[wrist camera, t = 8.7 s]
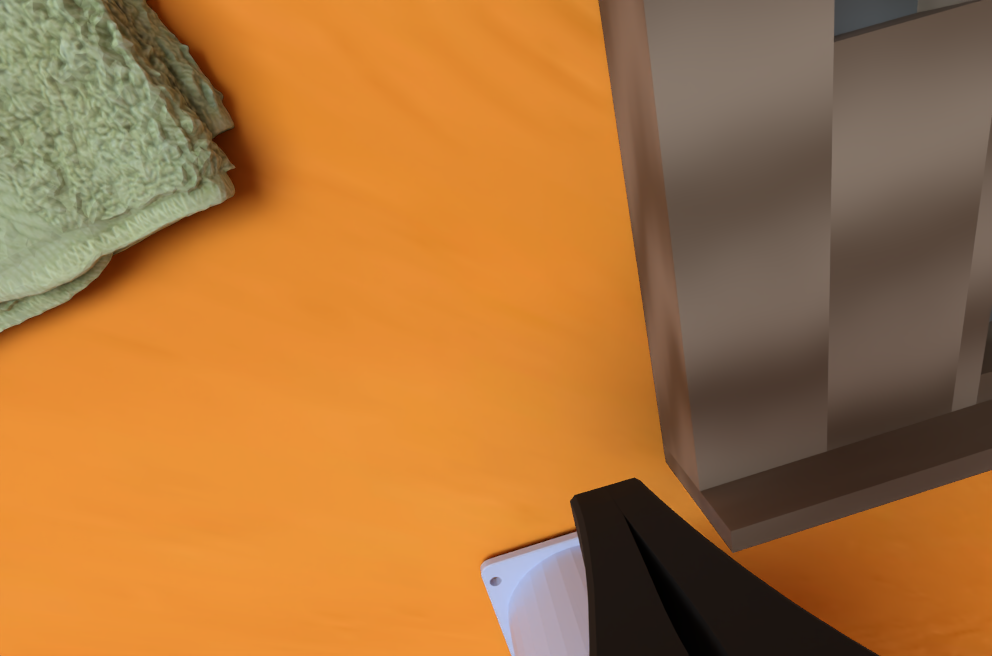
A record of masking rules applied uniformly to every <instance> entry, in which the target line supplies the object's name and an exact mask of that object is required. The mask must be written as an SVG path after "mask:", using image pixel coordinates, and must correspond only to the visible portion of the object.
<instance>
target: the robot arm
mask: <svg viewBox="0 0 992 656" xmlns="http://www.w3.org/2000/svg"><path fill="white" fill-rule="evenodd" d="M570 503H571V508H572V512H573V517H574V521H575V526H576V530H577V531H576V532H573V533H570V534H567V535H564V536H560V537H557V538H554V539H551V540H548V541H545V542H541V543H538V544H535V545H532V546H529V547H526V548H522V549H519V550H516V551H513V552H510V553H506V554H503V555H500V556H497V557H494V558H491V559H488V560H486V561H484V562H483V563H482V565H481V567H480V568H481V576H482V579H483V581H484V584H485V587H486V589H487V592H488V595H489V597H490V600H491V603H492V605H493V608H494V611H495V613H496V616H497V619H498V621H499V624H500V627H501V629H502V632H503V635H504V637H505V640H506V643H507V645H508V648H509V651H510V653H511V656H879V655H877V654H876V653H874V652H872V651H871V650H869V649H867V648H866V647H864V646H862V645H861V644H859V643H857V642H855V641H854V640H852V639H850V638H849V637H847V636H845V635H844V634H842V633H841V632H839V631H837V630H836V629H834V628H833V627H831V626H829V625H828V624H826V623H825V622H823V621H821V620H820V619H818V618H817V617H815V616H814V615H812V614H810V613H809V612H807V611H806V610H804V609H803V608H801V607H800V606H798V605H797V604H795V603H794V602H792V601H791V600H789V599H788V598H786V597H785V596H783V595H782V594H781V593H779V592H778V591H776V590H775V589H773V588H772V587H771V586H769V585H768V584H766V583H765V582H764V581H762V580H761V579H759V578H758V577H756V576H755V575H754V574H752V573H751V572H750V571H748V570H747V569H746V568H744V567H743V566H741V565H740V564H739V563H737V562H736V561H735V560H733V559H732V558H731V557H730V556H728V555H727V554H726V553H724V552H723V551H722V550H721V549H719V548H718V547H717V546H715V545H714V544H713V543H712V542H710V541H709V540H708V539H707V538H705V537H704V536H703V535H701V534H700V533H699V532H698V531H697V530H695V529H694V528H693V527H692V526H690V525H689V524H688V523H687V522H686V521H685V520H683V519H682V518H681V517H680V516H679V515H678V514H676V513H675V512H674V511H673V510H672V509H671V508H669V507H668V506H667V505H666V504H665V503H664V502H663V501H662V500H660V499H659V498H658V497H657V496H656V495H655V494H654V493H653V492H652V491H651V490H650V489H648V488H647V487H646V486H645V485H644V484H643V483H642V482H641V481H640V480H638V479H636V478H632V479H628V480H625V481H621V482H618V483H615V484H611V485H608V486H604V487H601V488H597V489H594V490H591V491H587V492H584V493H580V494H577V495H574V497H573V498H572V499H571V501H570ZM494 577H497V578H494ZM492 578H494V579H492Z"/></svg>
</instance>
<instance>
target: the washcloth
mask: <svg viewBox="0 0 992 656" xmlns="http://www.w3.org/2000/svg"><path fill="white" fill-rule="evenodd" d="M188 50H189V47H188V46H187V45H183V44H181V43H180V42H179V40H178V39H177V38H176V37H175V35H174V34H173V33H171V32H170V31H169V30H168V28H167V27H166V26H165V25H164V24H163V23H162V22H161V21H160V19H159V17H158V15H157V13H155V12H154V11H153V10H152V9H151V8H150V7H149V6H148V5H147V3H146V0H0V332H2V331H3V330H4V329H7V328H9V327H12V326H14V325H19V324H20V323H22V322H24V321H25V320H27V319H29V318H31V317H34V316H37V315H40V314H42V313H44V312H45V311H47V310H49V309H51V308H54V307H56V306H58V305H61V304H63V303H65V302H67V301H69V300H70V299H71V298H72V297H73V296H74V295H75V294H76V293H78V292H79V291H81V290H83V289H84V288H86V287H87V286H88V285H89V284H90V283H91V282H92V281H93V280H95V279H96V278H97V277H98V276H99V275H100V274H101V272H102V271H103V270H104V268H105V267H106V266H107V265H108V263H109V262H110V260H111V258H112V256H113V255H115V254H117V253H119V252H122V251H124V250H126V249H128V248H129V247H131V246H133V245H135V244H136V243H138V242H140V241H142V240H144V239H145V238H147V237H148V236H150V235H152V234H154V233H156V232H157V231H159V230H161V229H163V228H165V227H168V226H170V225H172V224H174V223H176V222H178V221H179V220H180V219H182V218H184V217H186V216H190V215H192V214H194V213H197V212H199V211H204V210H206V209H207V208H209V207H211V206H215V205H218V204H221V203H222V202H224V201H225V200H227V199H228V198H231V197H233V196H234V194H235V188H234V185H233V183H232V181H231V179H230V178H229V176H228V175H227V171H229V170H231V169H234V168H235V166H234V165H233V164H232V163H231V162H230V161H229V159H228V157H227V156H226V154H225V153H224V152H223V151H222V150H221V148H219V147H218V146H217V144H216V143H215V142H213V141H212V139H213V138H214V137H215V136H216V135H218V134H220V133H223V132H225V131H227V130H230V129H232V128H234V123H233V121H232V118H231V116H230V114H229V113H228V111H227V110H226V108H225V107H224V105H223V103H222V99H223V94H222V93H221V92H219V91H218V90H216V89H215V88H214V87H213V86H212V84H211V83H210V80H209V79H208V78H207V77H206V76H205V75H204V74H203V73H202V71H201V70H200V68H199V66H198V65H197V63H196V62H195V61H194V59H193V58H192V56H191V55H190V54H189V52H188Z"/></svg>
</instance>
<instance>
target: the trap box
mask: <svg viewBox="0 0 992 656" xmlns="http://www.w3.org/2000/svg"><path fill="white" fill-rule="evenodd" d="M599 7H600V14H601V21H602V27H603V34H604V41H605V48H606V55H607V62H608V69H609V75H610V82H611V89H612V96H613V103H614V110H615V117H616V123H617V130H618V137H619V144H620V151H621V158H622V165H623V171H624V178H625V185H626V192H627V199H628V206H629V213H630V219H631V226H632V233H633V240H634V247H635V254H636V261H637V267H638V274H639V281H640V288H641V295H642V302H643V309H644V315H645V322H646V329H647V336H648V343H649V350H650V357H651V363H652V370H653V377H654V384H655V391H656V398H657V405H658V411H659V418H660V425H661V432H662V439H663V446H664V453H665V459H666V463H667V464H668V466H669V467H670V468H671V470H672V471H673V472H674V474H675V475H676V477H677V478H678V479H679V481H680V482H681V483H682V485H683V486H684V487H685V489H686V490H687V491H688V493H689V494H690V496H691V497H692V498H693V500H694V501H695V502H696V504H697V505H698V506H699V508H700V509H701V510H702V512H703V513H704V515H705V516H706V517H707V519H708V520H709V521H710V523H711V524H712V525H713V527H714V528H715V529H716V531H717V532H718V534H719V535H720V536H721V538H722V539H723V540H724V542H725V543H726V544H727V546H728V547H729V548H730V550H731V551H732V553H734V552H737V551H740V550H743V549H746V548H749V547H753V546H756V545H759V544H762V543H765V542H768V541H771V540H774V539H778V538H781V537H784V536H787V535H790V534H793V533H796V532H799V531H803V530H806V529H809V528H812V527H815V526H818V525H821V524H824V523H827V522H831V521H834V520H837V519H840V518H843V517H846V516H849V515H852V514H856V513H859V512H862V511H865V510H868V509H871V508H874V507H877V506H881V505H884V504H887V503H890V502H893V501H896V500H899V499H902V498H905V497H909V496H912V495H915V494H918V493H921V492H924V491H927V490H930V489H934V488H937V487H940V486H943V485H946V484H949V483H952V482H955V481H958V480H962V479H965V478H968V477H971V476H974V475H977V474H980V473H983V472H987V471H990V470H992V0H599Z"/></svg>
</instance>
